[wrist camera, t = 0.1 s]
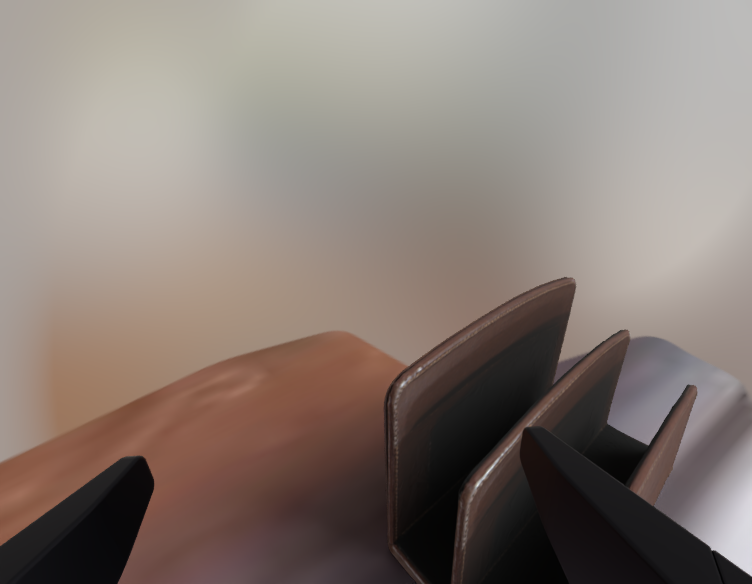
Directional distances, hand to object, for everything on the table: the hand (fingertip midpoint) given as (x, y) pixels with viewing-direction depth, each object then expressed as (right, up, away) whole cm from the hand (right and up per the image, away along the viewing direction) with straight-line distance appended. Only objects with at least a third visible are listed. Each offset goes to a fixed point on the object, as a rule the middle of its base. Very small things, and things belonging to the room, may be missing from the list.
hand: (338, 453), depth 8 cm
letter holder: (+12, -11, +16) cm, 23 cm away
